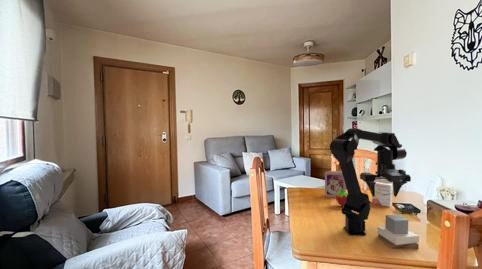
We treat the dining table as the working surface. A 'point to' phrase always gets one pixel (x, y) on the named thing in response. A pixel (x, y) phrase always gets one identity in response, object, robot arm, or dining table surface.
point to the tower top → (398, 236)
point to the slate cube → (396, 224)
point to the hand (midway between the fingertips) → (384, 196)
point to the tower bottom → (402, 246)
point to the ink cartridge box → (383, 193)
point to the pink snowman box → (334, 183)
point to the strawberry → (341, 197)
